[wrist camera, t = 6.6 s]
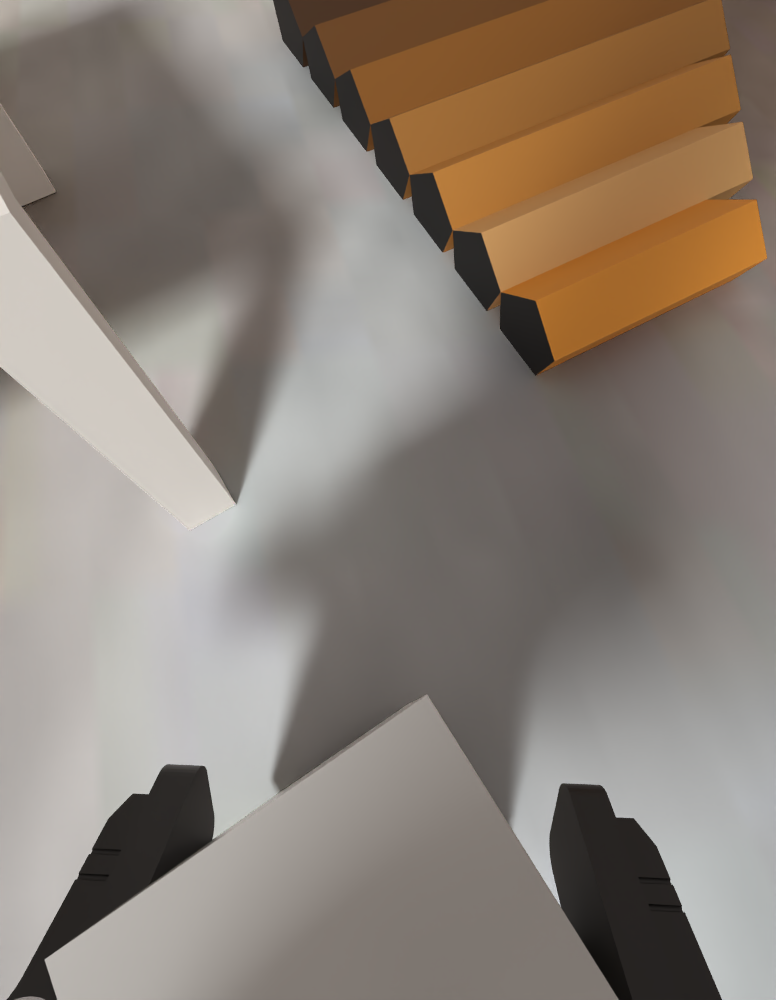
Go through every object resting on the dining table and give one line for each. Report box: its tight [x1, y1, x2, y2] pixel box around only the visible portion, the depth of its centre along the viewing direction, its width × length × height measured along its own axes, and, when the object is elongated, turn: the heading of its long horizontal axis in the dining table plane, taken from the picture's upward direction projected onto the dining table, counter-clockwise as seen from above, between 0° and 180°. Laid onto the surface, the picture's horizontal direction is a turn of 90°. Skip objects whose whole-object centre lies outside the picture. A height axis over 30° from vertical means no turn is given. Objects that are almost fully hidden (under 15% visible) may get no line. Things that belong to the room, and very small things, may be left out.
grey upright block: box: [45, 695, 619, 1000], centre depth 10 cm, size 5×5×10 cm
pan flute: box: [273, 0, 767, 376], centre depth 26 cm, size 25×3×25 cm
